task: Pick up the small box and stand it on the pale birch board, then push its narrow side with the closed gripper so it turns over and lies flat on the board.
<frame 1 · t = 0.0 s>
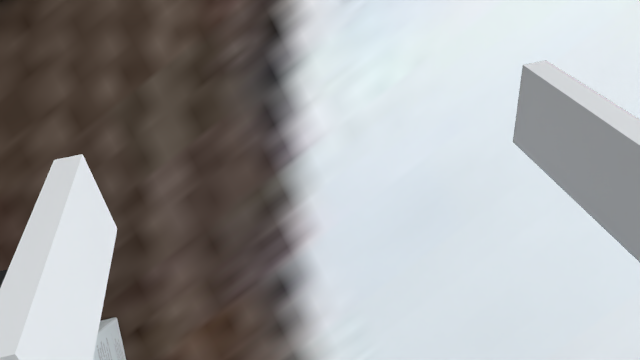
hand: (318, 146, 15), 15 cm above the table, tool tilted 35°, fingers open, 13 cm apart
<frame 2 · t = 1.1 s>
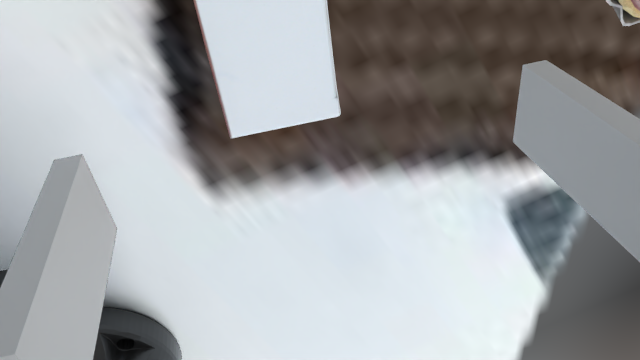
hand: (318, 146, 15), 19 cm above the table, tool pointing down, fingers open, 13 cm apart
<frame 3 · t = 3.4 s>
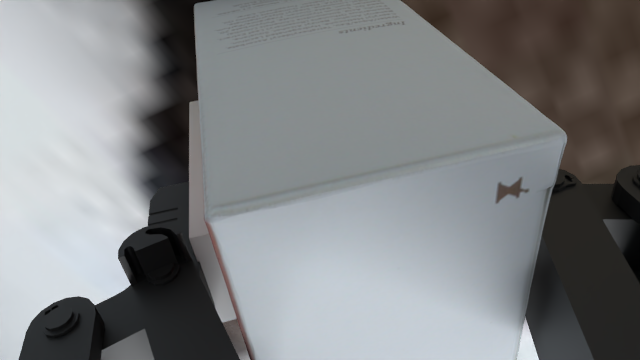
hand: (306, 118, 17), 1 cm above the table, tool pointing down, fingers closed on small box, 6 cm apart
small box: (298, 98, 18), on the table, touching gripper
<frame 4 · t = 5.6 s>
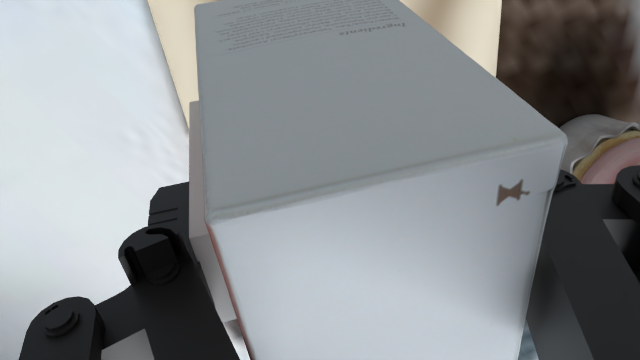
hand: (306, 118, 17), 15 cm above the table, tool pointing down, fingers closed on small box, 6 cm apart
cupcake: (572, 145, 41), on the table
small box: (298, 99, 18), point 14 cm above the table, touching gripper
when the fingers open (4 cm above the table, at t = 8.2 s): small box drops 1 cm, resting on birch board.
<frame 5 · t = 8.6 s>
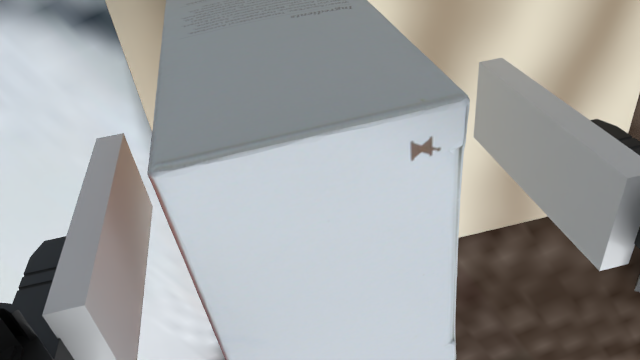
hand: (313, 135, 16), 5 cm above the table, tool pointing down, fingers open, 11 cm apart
birch board: (411, 52, 20), on the table
small box: (271, 84, 19), point 1 cm above the table, touching birch board
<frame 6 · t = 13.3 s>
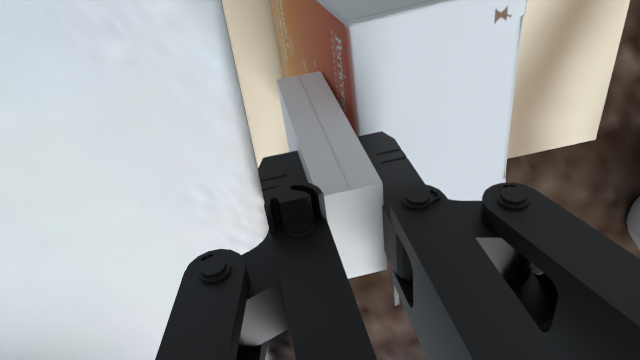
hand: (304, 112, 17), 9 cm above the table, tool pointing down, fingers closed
birch board: (437, 3, 25), on the table
small box: (329, 27, 24), point 1 cm above the table, touching birch board, gripper
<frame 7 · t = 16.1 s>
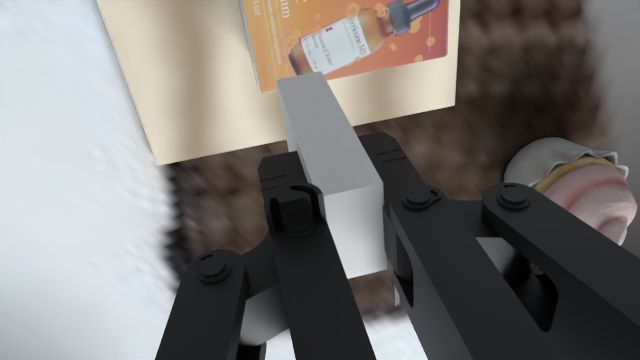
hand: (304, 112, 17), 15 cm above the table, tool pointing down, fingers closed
cupcake: (535, 166, 42), on the table
small box: (235, 7, 26), point 4 cm above the table, touching birch board
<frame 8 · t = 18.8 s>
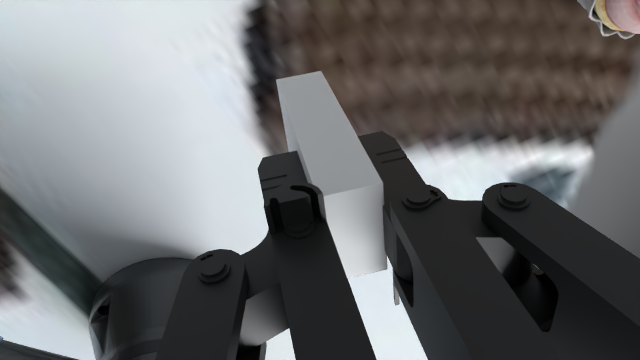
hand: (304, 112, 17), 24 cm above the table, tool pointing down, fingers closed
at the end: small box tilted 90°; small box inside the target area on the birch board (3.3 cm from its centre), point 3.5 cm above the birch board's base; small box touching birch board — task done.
